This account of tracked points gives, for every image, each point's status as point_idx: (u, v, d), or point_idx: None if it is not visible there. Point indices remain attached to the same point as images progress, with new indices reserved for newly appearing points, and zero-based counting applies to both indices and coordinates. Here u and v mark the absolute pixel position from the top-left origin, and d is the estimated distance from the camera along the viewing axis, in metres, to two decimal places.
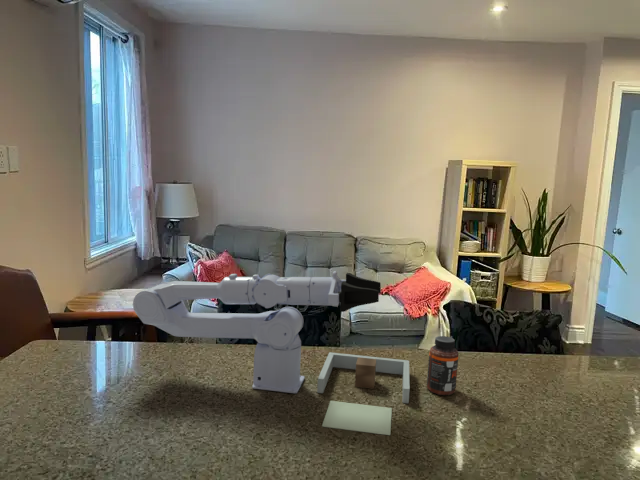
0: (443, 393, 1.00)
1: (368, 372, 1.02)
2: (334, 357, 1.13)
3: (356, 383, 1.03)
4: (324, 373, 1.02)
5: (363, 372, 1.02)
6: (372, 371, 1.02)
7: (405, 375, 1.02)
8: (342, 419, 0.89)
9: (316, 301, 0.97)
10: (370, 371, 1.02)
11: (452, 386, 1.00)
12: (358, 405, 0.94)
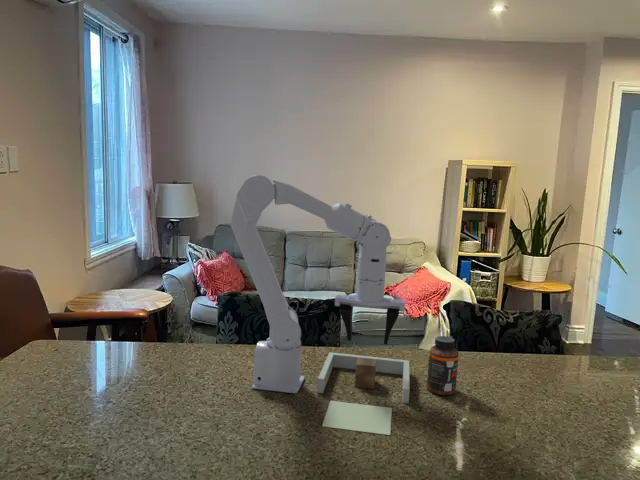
0: (443, 393, 1.00)
1: (368, 372, 1.02)
2: (334, 357, 1.13)
3: (356, 383, 1.03)
4: (324, 373, 1.02)
5: (363, 372, 1.02)
6: (372, 371, 1.02)
7: (405, 375, 1.02)
8: (342, 419, 0.89)
9: (381, 286, 1.00)
10: (370, 371, 1.02)
11: (452, 386, 1.00)
12: (358, 405, 0.94)
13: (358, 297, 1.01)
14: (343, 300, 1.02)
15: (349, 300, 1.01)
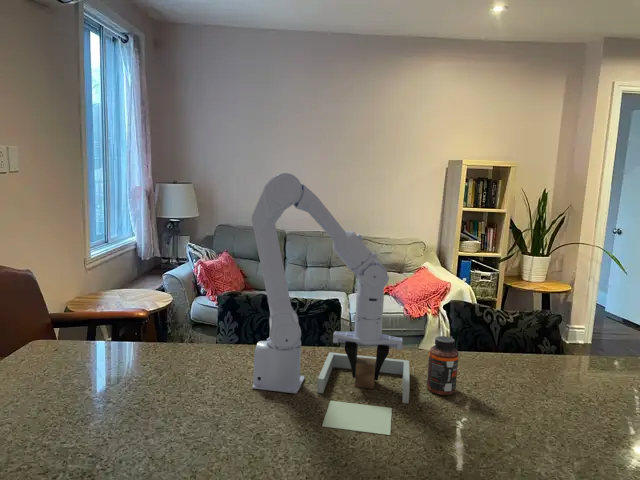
0: (443, 393, 1.00)
1: (368, 372, 1.02)
2: (334, 357, 1.13)
3: (356, 383, 1.03)
4: (324, 373, 1.02)
5: (363, 372, 1.02)
6: (372, 370, 1.02)
7: (405, 375, 1.02)
8: (342, 419, 0.89)
9: (379, 324, 1.01)
10: (370, 371, 1.02)
11: (452, 386, 1.00)
12: (358, 405, 0.94)
13: (356, 335, 1.02)
14: (341, 337, 1.03)
15: (347, 338, 1.02)
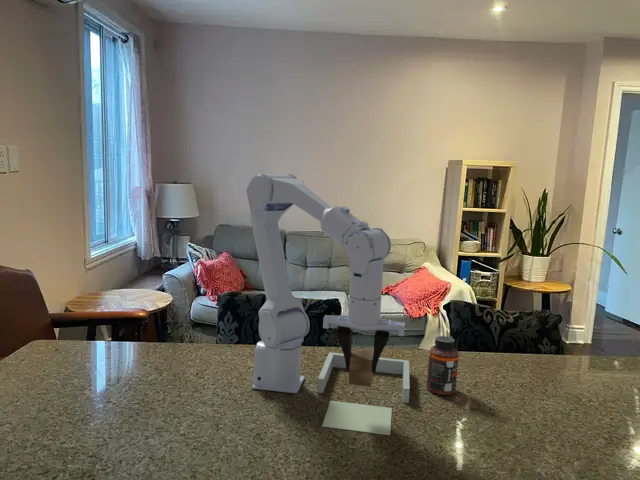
0: (443, 393, 1.00)
1: (364, 367, 0.87)
2: (334, 357, 1.13)
3: (350, 380, 0.88)
4: (324, 373, 1.02)
5: (358, 367, 0.88)
6: (369, 365, 0.87)
7: (405, 375, 1.02)
8: (342, 419, 0.89)
9: (377, 306, 0.85)
10: (366, 366, 0.87)
11: (452, 386, 1.00)
12: (358, 405, 0.94)
13: (350, 319, 0.86)
14: (332, 322, 0.87)
15: (339, 322, 0.87)
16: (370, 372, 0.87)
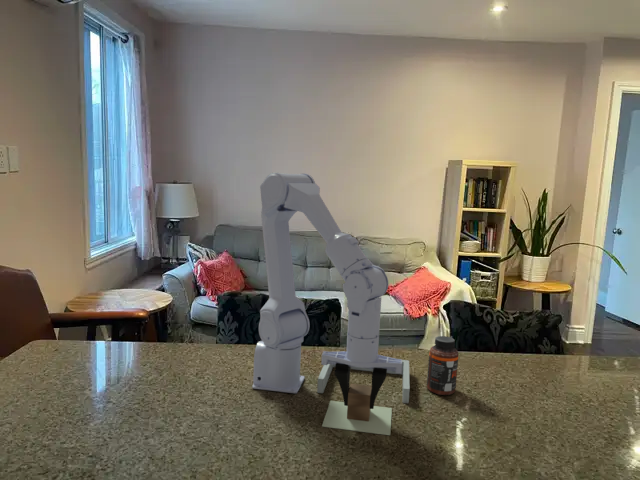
0: (443, 393, 1.00)
1: (362, 402, 0.88)
2: None
3: (348, 415, 0.89)
4: (324, 373, 1.02)
5: (357, 402, 0.88)
6: (367, 401, 0.88)
7: (405, 375, 1.02)
8: (342, 419, 0.89)
9: (375, 344, 0.86)
10: (364, 401, 0.88)
11: (452, 386, 1.00)
12: None
13: (348, 356, 0.87)
14: (331, 359, 0.88)
15: (338, 359, 0.88)
16: (368, 407, 0.88)
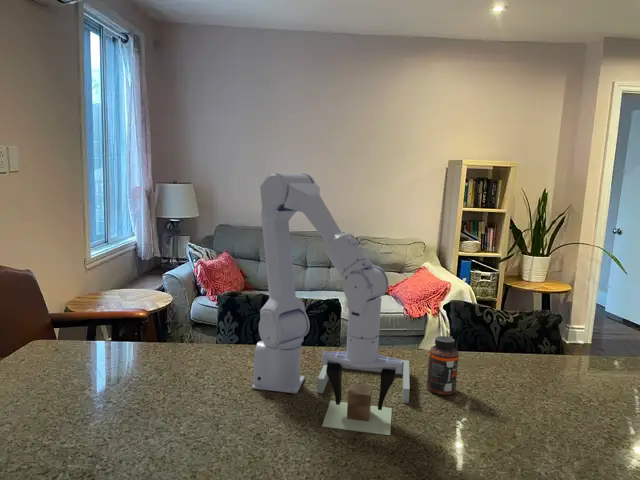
0: (443, 393, 1.00)
1: (362, 402, 0.88)
2: None
3: (348, 415, 0.89)
4: (324, 373, 1.02)
5: (357, 402, 0.88)
6: (367, 401, 0.88)
7: (405, 375, 1.02)
8: (342, 419, 0.89)
9: (375, 344, 0.86)
10: (364, 401, 0.88)
11: (452, 386, 1.00)
12: None
13: (348, 356, 0.87)
14: (331, 359, 0.88)
15: (337, 359, 0.88)
16: (368, 407, 0.88)
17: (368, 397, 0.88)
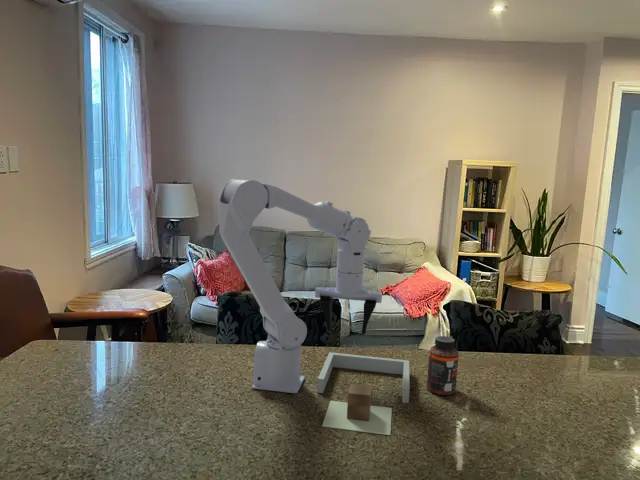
0: (443, 393, 1.00)
1: (362, 402, 0.88)
2: (334, 357, 1.13)
3: (348, 415, 0.89)
4: (324, 373, 1.02)
5: (357, 402, 0.88)
6: (367, 401, 0.88)
7: (405, 375, 1.02)
8: (342, 419, 0.89)
9: (359, 278, 1.04)
10: (364, 401, 0.88)
11: (452, 386, 1.00)
12: None
13: (337, 289, 1.06)
14: (323, 292, 1.07)
15: (328, 292, 1.06)
16: (368, 407, 0.88)
17: (368, 397, 0.88)
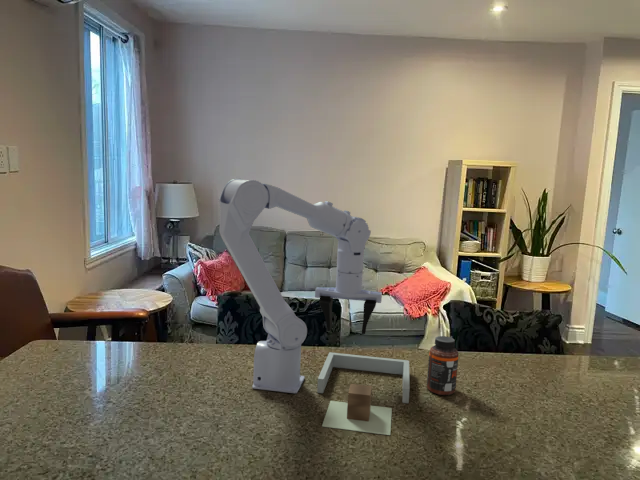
0: (443, 393, 1.00)
1: (362, 402, 0.88)
2: (334, 357, 1.13)
3: (348, 415, 0.89)
4: (324, 373, 1.02)
5: (357, 402, 0.88)
6: (367, 401, 0.88)
7: (405, 375, 1.02)
8: (342, 419, 0.89)
9: (359, 278, 1.04)
10: (364, 401, 0.88)
11: (452, 386, 1.00)
12: None
13: (337, 289, 1.06)
14: (323, 292, 1.07)
15: (328, 292, 1.06)
16: (368, 407, 0.88)
17: (368, 397, 0.88)
